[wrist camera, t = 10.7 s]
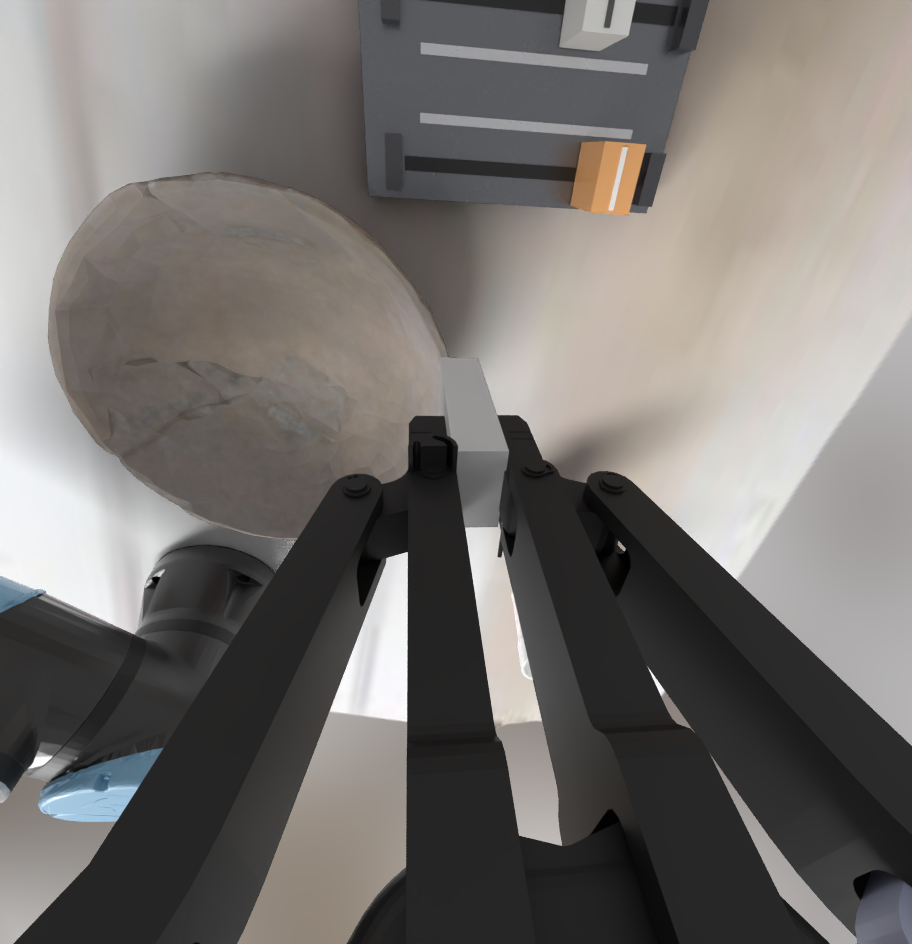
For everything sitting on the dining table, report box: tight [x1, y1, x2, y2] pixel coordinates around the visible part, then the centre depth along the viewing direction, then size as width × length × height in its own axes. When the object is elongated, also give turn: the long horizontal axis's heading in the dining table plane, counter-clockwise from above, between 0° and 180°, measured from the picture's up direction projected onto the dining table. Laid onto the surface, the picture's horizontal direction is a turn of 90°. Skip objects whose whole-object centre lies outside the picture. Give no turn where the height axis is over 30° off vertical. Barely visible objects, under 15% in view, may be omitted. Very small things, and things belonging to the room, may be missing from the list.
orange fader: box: [570, 141, 646, 215], centre depth 28 cm, size 2×4×5 cm
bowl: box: [48, 172, 449, 540], centre depth 34 cm, size 26×26×10 cm
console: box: [358, 0, 709, 213], centre depth 28 cm, size 20×12×3 cm, turn 87°
